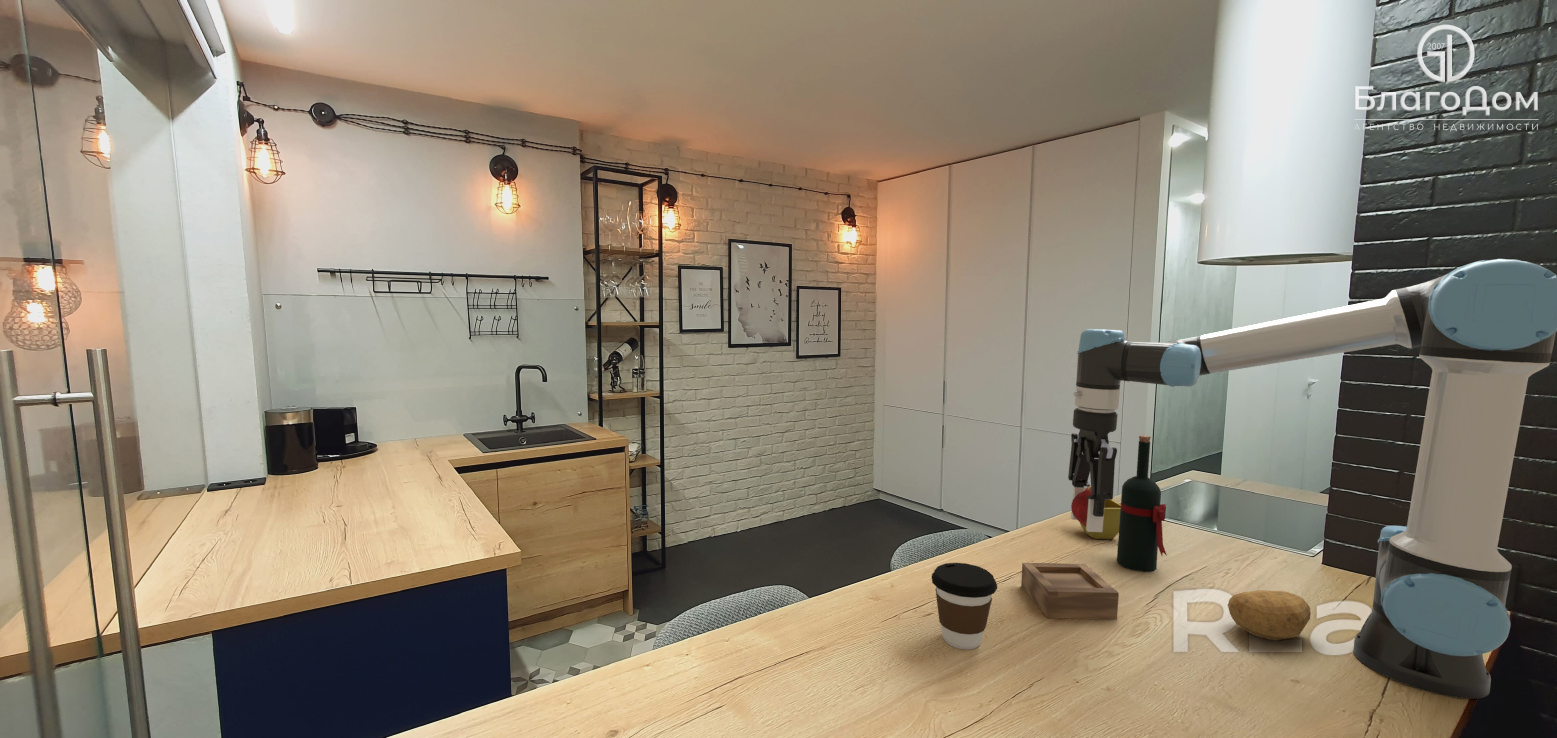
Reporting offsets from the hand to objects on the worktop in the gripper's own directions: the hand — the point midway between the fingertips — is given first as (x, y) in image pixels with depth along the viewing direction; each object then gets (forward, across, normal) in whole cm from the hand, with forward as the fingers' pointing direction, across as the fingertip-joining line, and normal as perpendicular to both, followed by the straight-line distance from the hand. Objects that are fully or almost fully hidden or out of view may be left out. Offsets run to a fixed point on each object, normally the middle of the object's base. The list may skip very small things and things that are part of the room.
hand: (1086, 524), depth 118 cm
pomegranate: (0, 0, 0) cm, 0 cm away
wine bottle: (+16, -18, +22) cm, 32 cm away
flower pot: (+16, -37, +21) cm, 46 cm away
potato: (+15, +11, +28) cm, 34 cm away
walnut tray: (+16, 0, -3) cm, 16 cm away
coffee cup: (+16, +16, -28) cm, 36 cm away
